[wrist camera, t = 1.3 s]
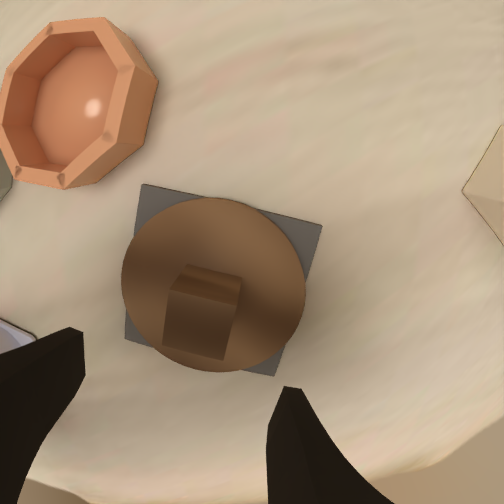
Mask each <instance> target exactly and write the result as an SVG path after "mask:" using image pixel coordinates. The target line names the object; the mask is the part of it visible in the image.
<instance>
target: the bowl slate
mask: <svg viewBox="0 0 504 504" xmlns="http://www.w3.org/2000/svg"><path fill="white" fill-rule="evenodd" d="M11 185H12V173H11V171H10V169H9V167H8V165H7V162H6V160H5V158H4V156H3V153H2V151H1V149H0V201H1V200H2V198H3V197H4V196H5V194H6V193H7V192H8V191H9V189H10V188H11Z"/></svg>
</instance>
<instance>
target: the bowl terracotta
mask: <svg viewBox="0 0 504 504" xmlns="http://www.w3.org/2000/svg"><path fill="white" fill-rule="evenodd" d="M157 85H158V80H157V78H156V77H155V75H154V73H153V72H152V70H151V69H150V67H149V66H148V64H147V63H146V61H145V60H144V58H143V57H142V55H141V54H140V52H139V51H138V49H137V48H136V46H135V45H134V43H133V42H132V40H131V38H130V37H129V36H127V35H126V34H125V33H124V32H122V31H121V30H120V29H119V28H117V27H116V26H115V25H114V24H112V23H111V22H110V21H108V20H107V19H106V18H105V17H99V18H85V19H74V20H65V21H57V22H50V23H49V24H48V25H47V26H46V27H45V28H44V29H43V30H42V31H41V32H40V33H39V34H38V35H37V36H36V37H35V38H34V39H33V40H32V41H31V42H30V43H29V44H28V45H27V46H26V47H25V48H24V49H23V50H22V51H21V52H20V54H19V55H18V56H17V57H16V58H15V59H14V60H13V61H12V63H11V64H10V65H9V66H8V67H7V68H6V72H5V76H4V80H3V84H2V88H1V92H0V149H1V151H2V153H3V156H4V158H5V160H6V162H7V165H8V167H9V169H10V171H11V173H12V175H13V178H14V180H18V181H23V182H28V183H33V184H38V185H43V186H48V187H53V188H58V189H62V190H65V189H69V188H74V187H79V186H84V185H89V184H94V183H97V182H98V181H99V180H100V179H101V178H102V177H104V176H105V175H106V174H107V173H108V172H110V171H111V170H112V169H113V168H115V167H116V166H117V165H118V164H120V163H121V162H122V161H123V160H125V159H126V158H127V157H128V156H130V155H131V154H132V153H133V152H135V151H136V150H137V149H139V148H140V147H141V146H143V144H144V139H145V134H146V130H147V125H148V121H149V117H150V113H151V108H152V104H153V100H154V96H155V93H156V89H157Z"/></svg>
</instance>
